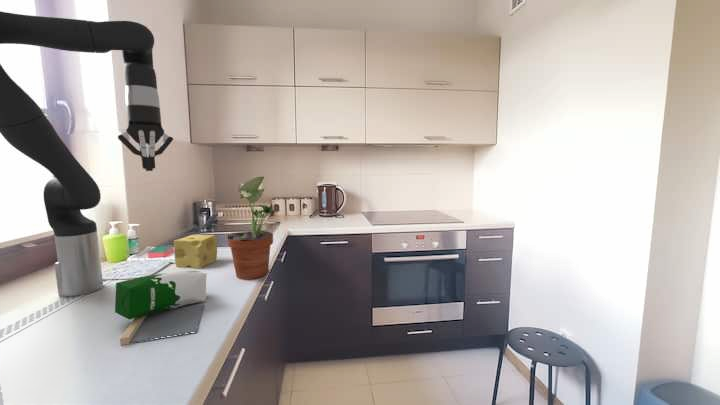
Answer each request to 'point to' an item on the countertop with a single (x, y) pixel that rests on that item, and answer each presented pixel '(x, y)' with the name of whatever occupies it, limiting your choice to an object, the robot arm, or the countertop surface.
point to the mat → (163, 324)
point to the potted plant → (252, 238)
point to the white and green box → (159, 293)
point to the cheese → (195, 251)
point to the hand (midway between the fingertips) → (149, 170)
